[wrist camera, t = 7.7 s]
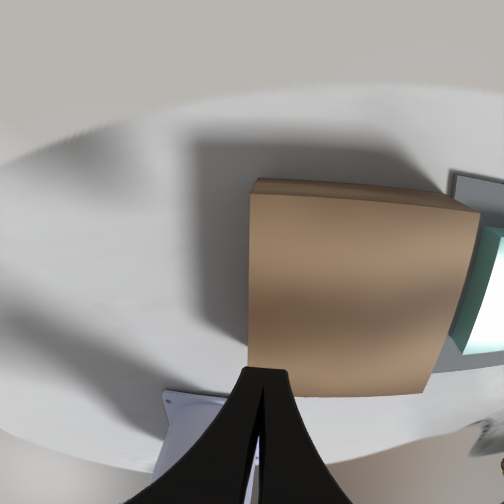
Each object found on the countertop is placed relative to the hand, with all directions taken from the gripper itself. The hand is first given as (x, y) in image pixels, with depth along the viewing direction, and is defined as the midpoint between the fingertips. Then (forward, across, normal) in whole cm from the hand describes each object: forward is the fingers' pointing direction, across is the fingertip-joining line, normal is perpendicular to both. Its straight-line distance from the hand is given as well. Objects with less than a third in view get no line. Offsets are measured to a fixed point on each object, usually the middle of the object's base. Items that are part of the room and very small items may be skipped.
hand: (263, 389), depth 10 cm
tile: (+7, -16, 0) cm, 17 cm away
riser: (+9, -4, 0) cm, 10 cm away
